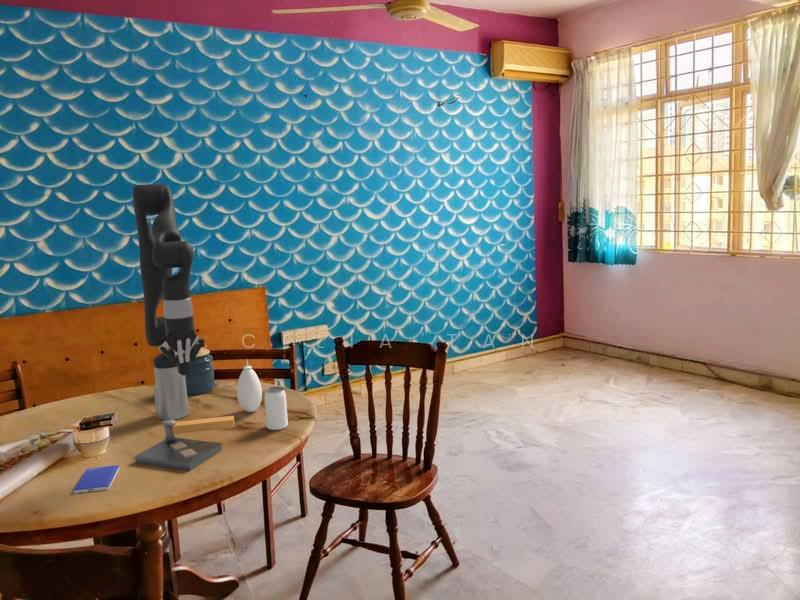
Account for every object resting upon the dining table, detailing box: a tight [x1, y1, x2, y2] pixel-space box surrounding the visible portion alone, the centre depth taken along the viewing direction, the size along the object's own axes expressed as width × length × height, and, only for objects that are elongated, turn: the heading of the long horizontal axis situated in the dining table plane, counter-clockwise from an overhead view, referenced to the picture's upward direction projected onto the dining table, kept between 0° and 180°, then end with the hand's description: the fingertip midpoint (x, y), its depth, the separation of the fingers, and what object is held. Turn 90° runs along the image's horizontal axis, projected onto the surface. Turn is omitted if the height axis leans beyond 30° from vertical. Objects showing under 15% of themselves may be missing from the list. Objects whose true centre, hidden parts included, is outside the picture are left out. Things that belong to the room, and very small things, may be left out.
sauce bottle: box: [236, 359, 263, 413], centre depth 212 cm, size 8×8×18 cm
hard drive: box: [72, 464, 120, 494], centre depth 166 cm, size 2×8×12 cm
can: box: [264, 386, 289, 431], centre depth 198 cm, size 6×6×12 cm
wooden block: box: [161, 415, 235, 441], centre depth 187 cm, size 20×4×5 cm, turn 102°
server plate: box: [134, 437, 223, 472], centre depth 179 cm, size 18×14×2 cm
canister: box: [185, 343, 216, 396], centre depth 238 cm, size 13×13×18 cm
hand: (184, 374), depth 180 cm, fingers closed
